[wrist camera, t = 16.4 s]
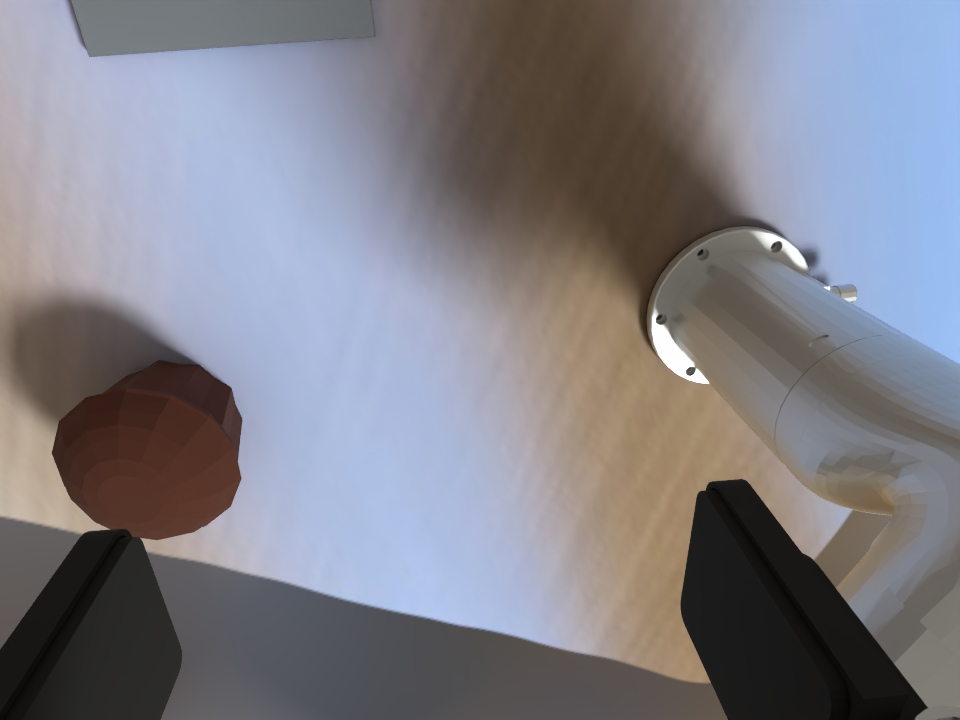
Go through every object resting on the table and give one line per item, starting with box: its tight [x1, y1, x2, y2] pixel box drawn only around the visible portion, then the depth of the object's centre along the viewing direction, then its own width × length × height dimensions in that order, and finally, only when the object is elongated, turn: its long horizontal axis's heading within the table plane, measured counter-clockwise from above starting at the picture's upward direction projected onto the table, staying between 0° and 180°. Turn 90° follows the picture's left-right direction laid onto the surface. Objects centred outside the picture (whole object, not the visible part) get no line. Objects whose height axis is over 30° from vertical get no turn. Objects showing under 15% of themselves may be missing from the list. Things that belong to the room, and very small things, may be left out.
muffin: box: [52, 361, 242, 540], centre depth 42 cm, size 12×11×10 cm
